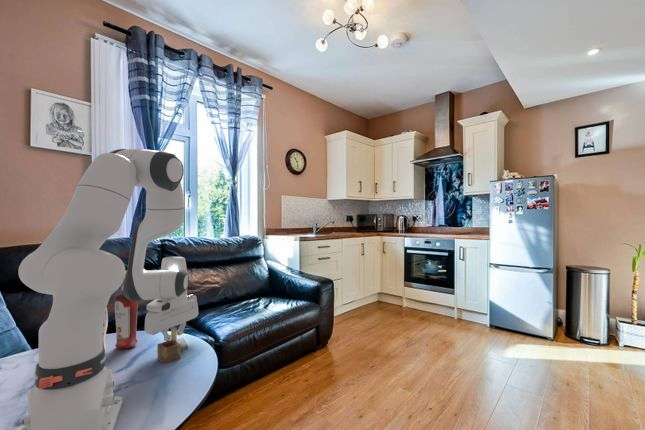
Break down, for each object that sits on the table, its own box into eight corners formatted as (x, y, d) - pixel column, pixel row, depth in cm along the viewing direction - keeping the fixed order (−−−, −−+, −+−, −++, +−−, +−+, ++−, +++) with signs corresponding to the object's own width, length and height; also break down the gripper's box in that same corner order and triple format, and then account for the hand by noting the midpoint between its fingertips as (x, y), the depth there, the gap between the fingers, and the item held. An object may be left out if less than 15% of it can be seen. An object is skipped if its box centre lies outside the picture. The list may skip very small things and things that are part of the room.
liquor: (109, 350, 104) (109, 272, 104) (126, 341, 111) (126, 269, 111) (126, 352, 102) (126, 273, 102) (143, 343, 109) (142, 269, 109)
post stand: (187, 348, 105) (188, 329, 105) (163, 354, 101) (163, 334, 101) (183, 340, 112) (183, 322, 112) (159, 346, 107) (159, 327, 107)
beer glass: (86, 349, 105) (86, 307, 105) (110, 345, 108) (110, 305, 108) (80, 357, 98) (80, 314, 98) (105, 353, 101) (105, 311, 101)
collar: (180, 359, 97) (180, 344, 97) (164, 364, 94) (164, 349, 94) (172, 353, 101) (172, 339, 101) (157, 358, 98) (157, 344, 98)
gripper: (190, 292, 117) (190, 326, 117) (141, 306, 98) (141, 347, 98) (202, 293, 115) (202, 328, 115) (154, 309, 96) (154, 350, 96)
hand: (173, 337), depth 106 cm, fingers open, 4 cm apart
